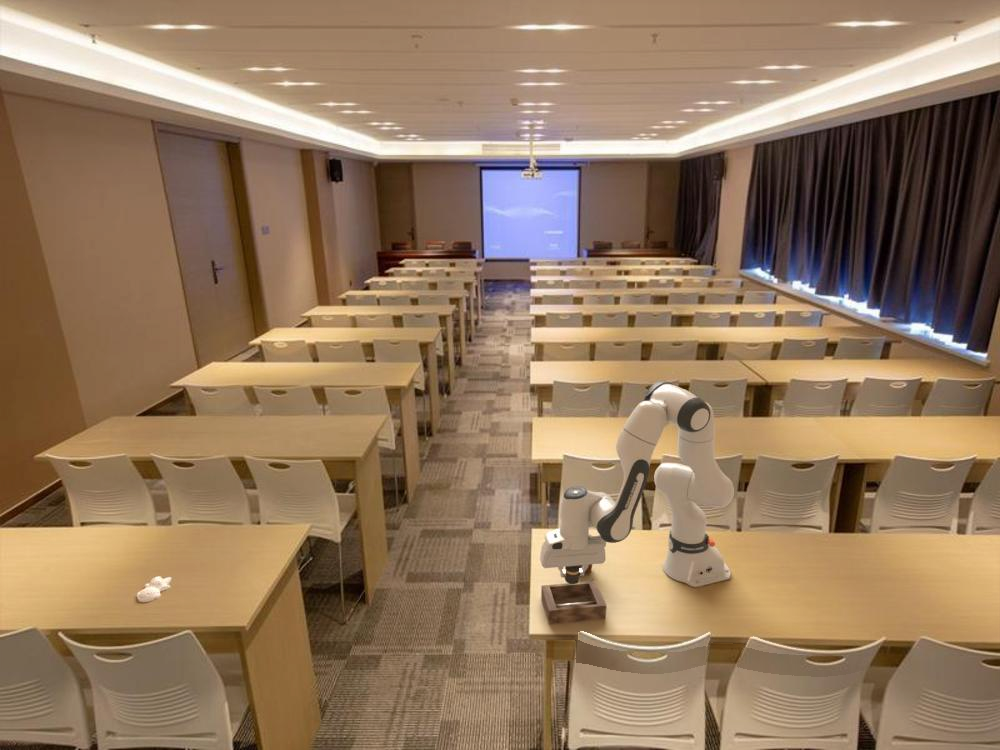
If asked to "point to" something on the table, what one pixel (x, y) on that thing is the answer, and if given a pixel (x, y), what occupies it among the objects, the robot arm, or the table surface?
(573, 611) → the brown wooden frame
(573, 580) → the orange-banded dark cylinder
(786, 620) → the table surface
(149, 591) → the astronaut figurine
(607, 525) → the robot arm
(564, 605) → the metal rod
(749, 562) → the table surface
